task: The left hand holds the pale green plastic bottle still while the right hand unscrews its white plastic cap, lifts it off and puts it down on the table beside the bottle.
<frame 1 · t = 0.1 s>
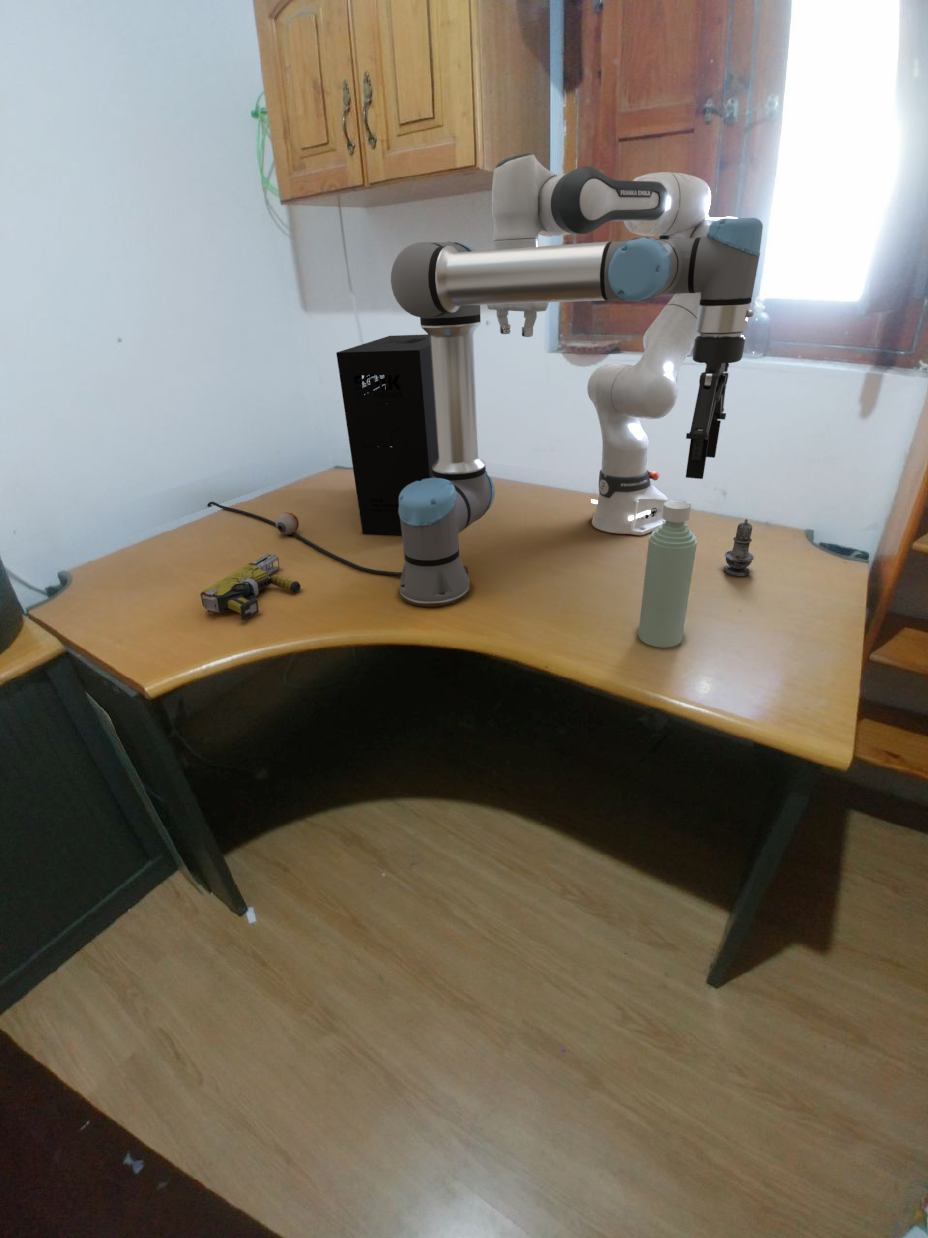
left hand: (700, 466, 106), 28 cm above the table, tool pointing down, fingers open, 13 cm apart
right hand: (516, 335, 125), 48 cm above the table, tool pointing down, fingers open, 8 cm apart
toy gun: (264, 594, 134), on the table
eyeball: (289, 534, 165), on the table
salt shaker: (736, 571, 132), on the table
cardboard box: (418, 510, 176), on the table
bottle: (660, 636, 111), on the table
cap: (677, 506, 98), point 25 cm above the table, screwed on, not yet turned
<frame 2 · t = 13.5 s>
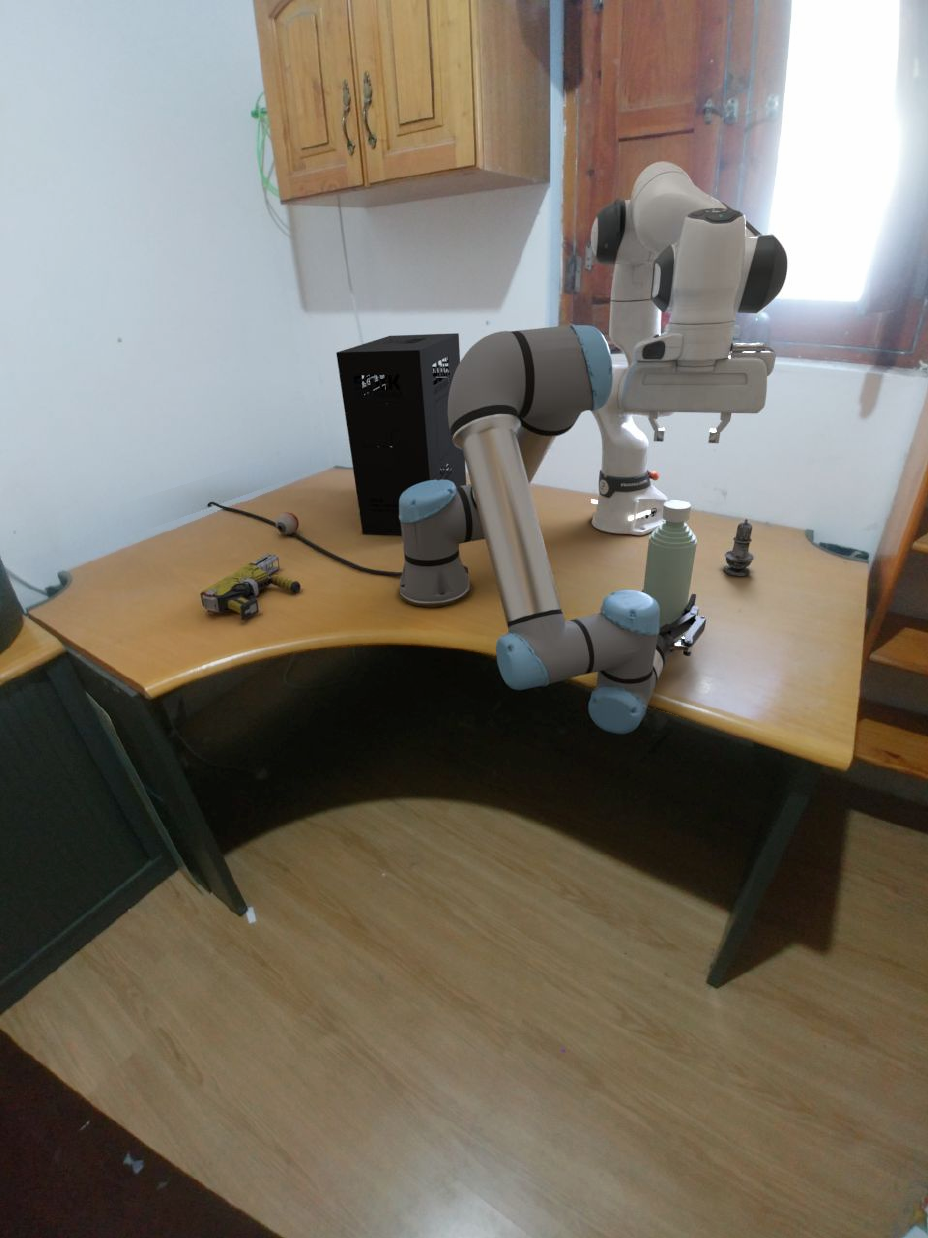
left hand: (669, 596, 112), 6 cm above the table, tool horizontal, fingers closed on bottle, 8 cm apart
right hand: (685, 441, 93), 35 cm above the table, tool pointing down, fingers open, 7 cm apart
bottle: (660, 636, 111), on the table, touching left hand
everything else where it was.
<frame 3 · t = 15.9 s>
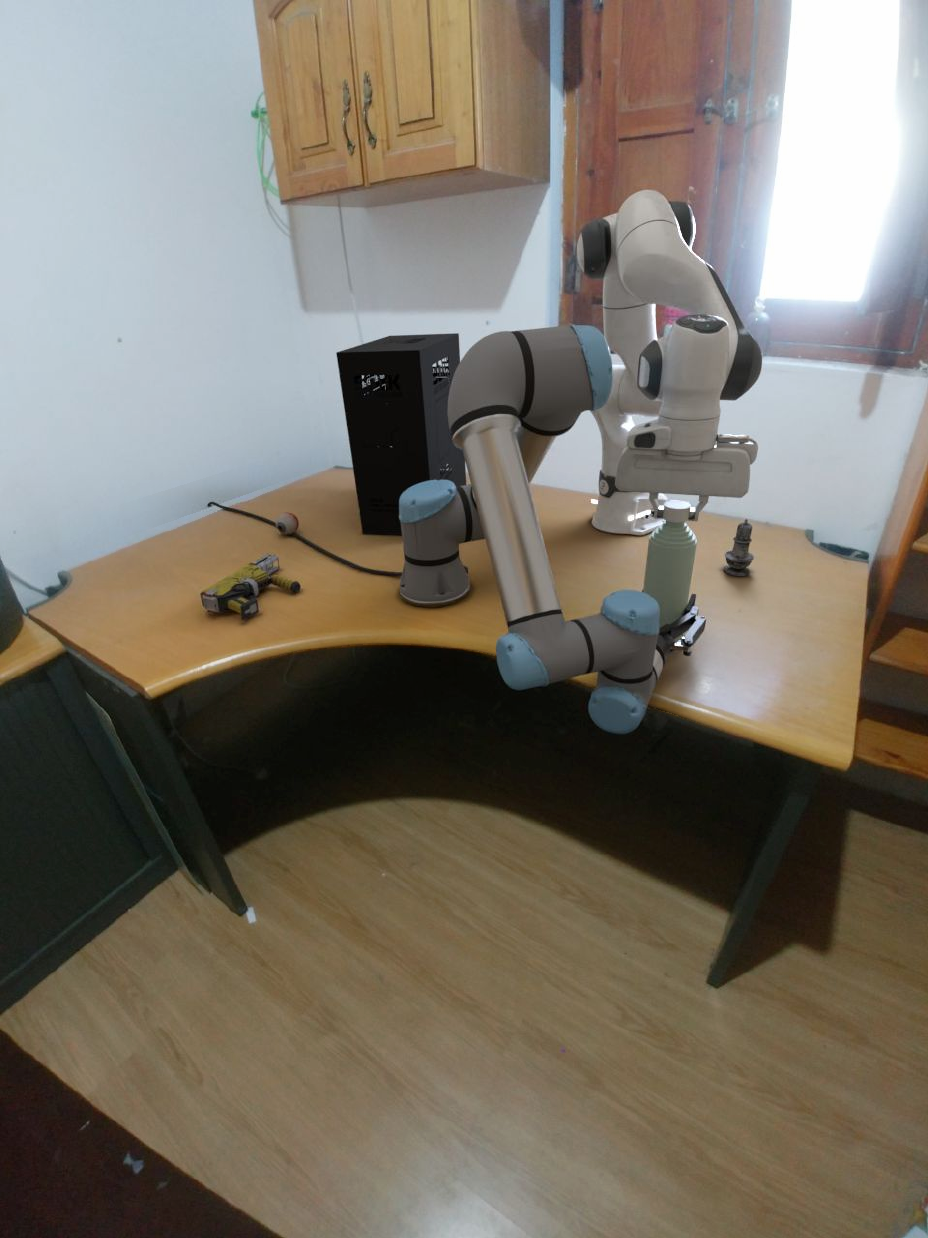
left hand: (669, 596, 112), 6 cm above the table, tool horizontal, fingers closed on bottle, 8 cm apart
right hand: (675, 518, 100), 23 cm above the table, tool pointing down, fingers closed on cap, 4 cm apart
bottle: (659, 636, 111), on the table, touching left hand
cap: (677, 506, 98), point 25 cm above the table, screwed on, not yet turned, touching right hand
everything else where it was.
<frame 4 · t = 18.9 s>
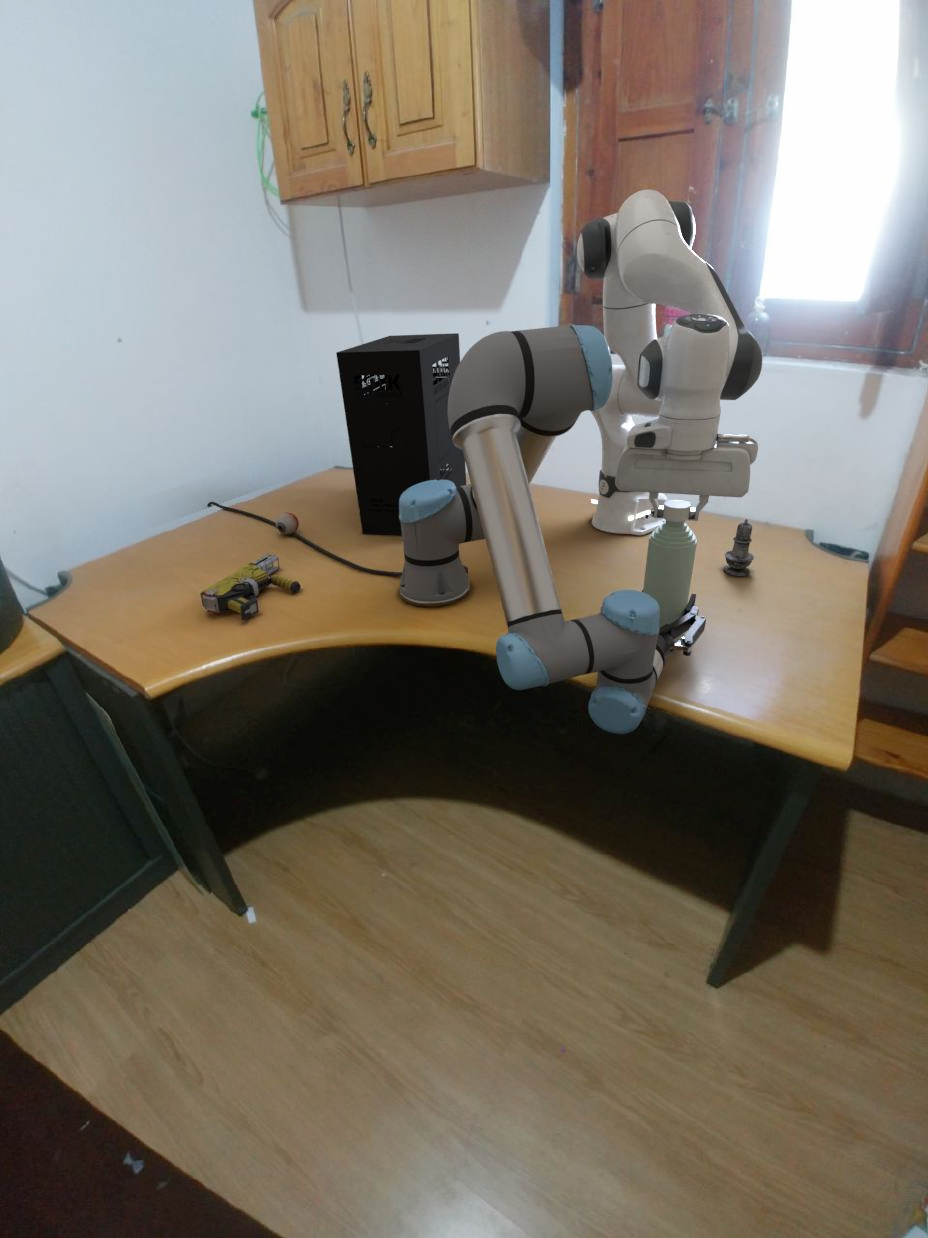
left hand: (669, 596, 112), 6 cm above the table, tool horizontal, fingers closed on bottle, 8 cm apart
right hand: (675, 518, 100), 23 cm above the table, tool pointing down, fingers closed on cap, 4 cm apart
bottle: (659, 636, 111), on the table, touching left hand
cap: (677, 505, 98), point 25 cm above the table, turned 86° so far, risen 0.1 cm, still on its thread, touching right hand
everything else where it was.
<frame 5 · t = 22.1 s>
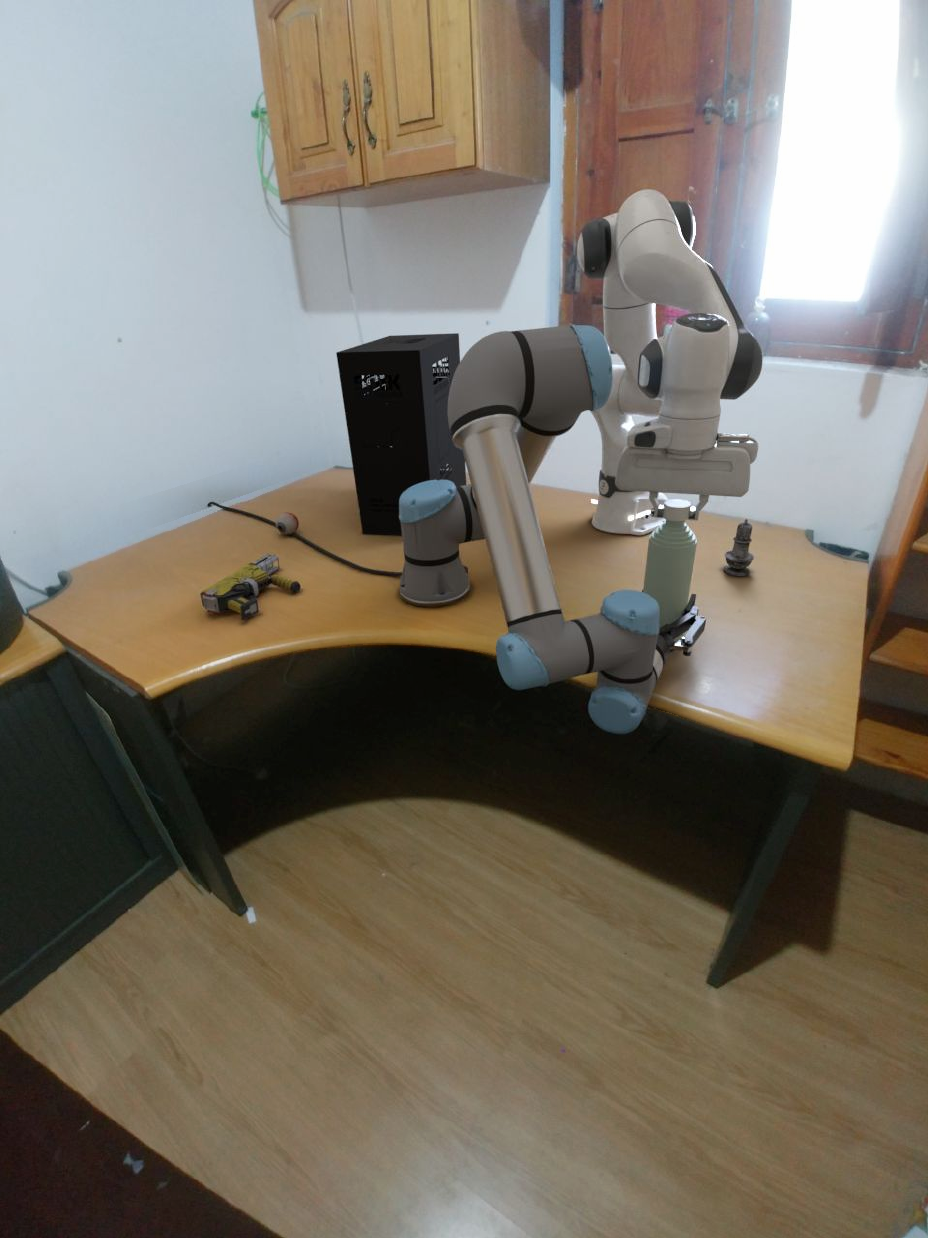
left hand: (669, 596, 112), 6 cm above the table, tool horizontal, fingers closed on bottle, 8 cm apart
right hand: (675, 518, 99), 23 cm above the table, tool pointing down, fingers closed on cap, 4 cm apart
bottle: (659, 636, 111), on the table, touching left hand
cap: (677, 505, 98), point 25 cm above the table, turned 172° so far, risen 0.2 cm, still on its thread, touching right hand
everything else where it was.
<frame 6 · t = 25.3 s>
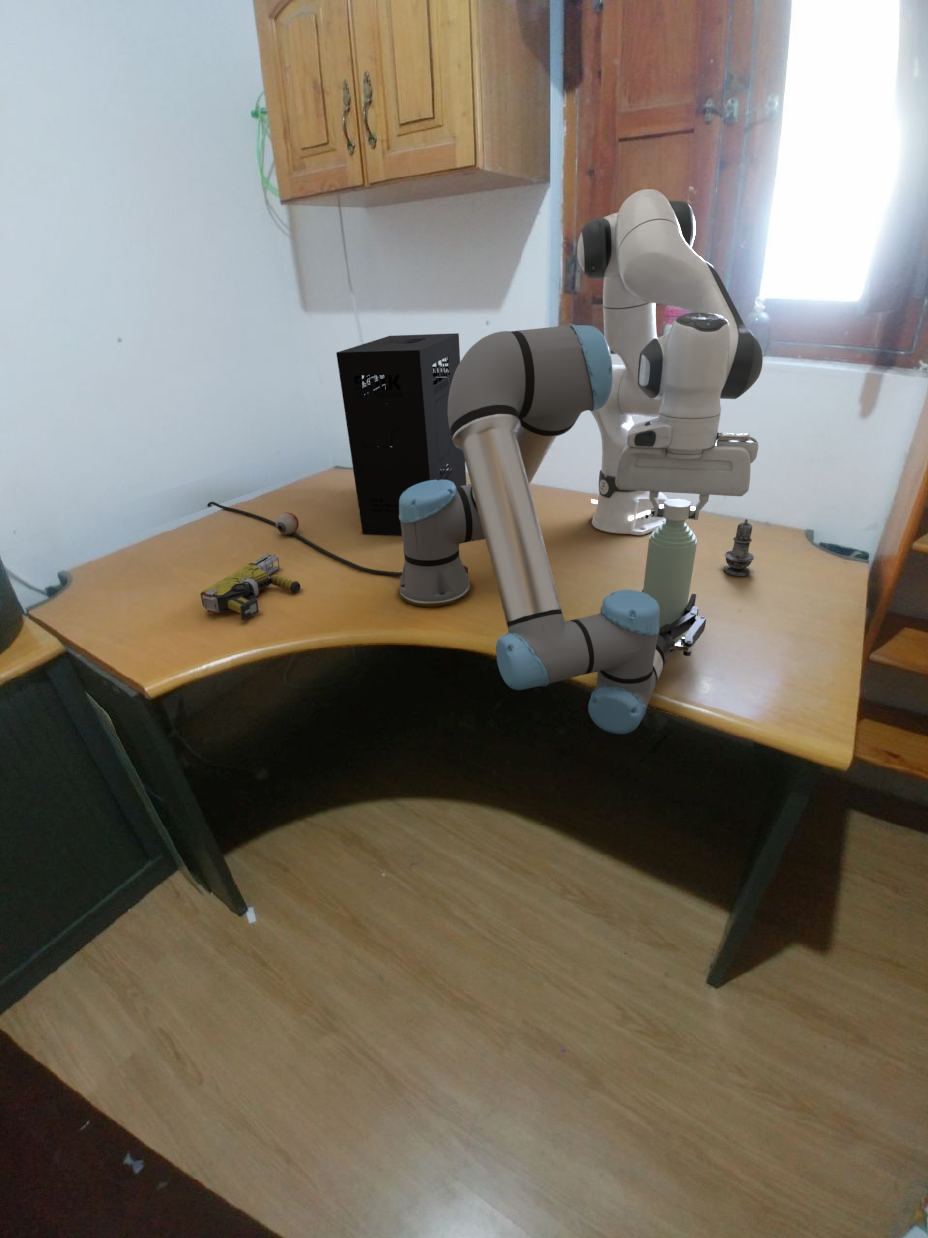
left hand: (669, 596, 112), 6 cm above the table, tool horizontal, fingers closed on bottle, 8 cm apart
right hand: (675, 517, 99), 23 cm above the table, tool pointing down, fingers closed on cap, 4 cm apart
bottle: (660, 636, 111), on the table, touching left hand
cap: (677, 504, 98), point 25 cm above the table, turned 258° so far, risen 0.3 cm, still on its thread, touching right hand
everything else where it was.
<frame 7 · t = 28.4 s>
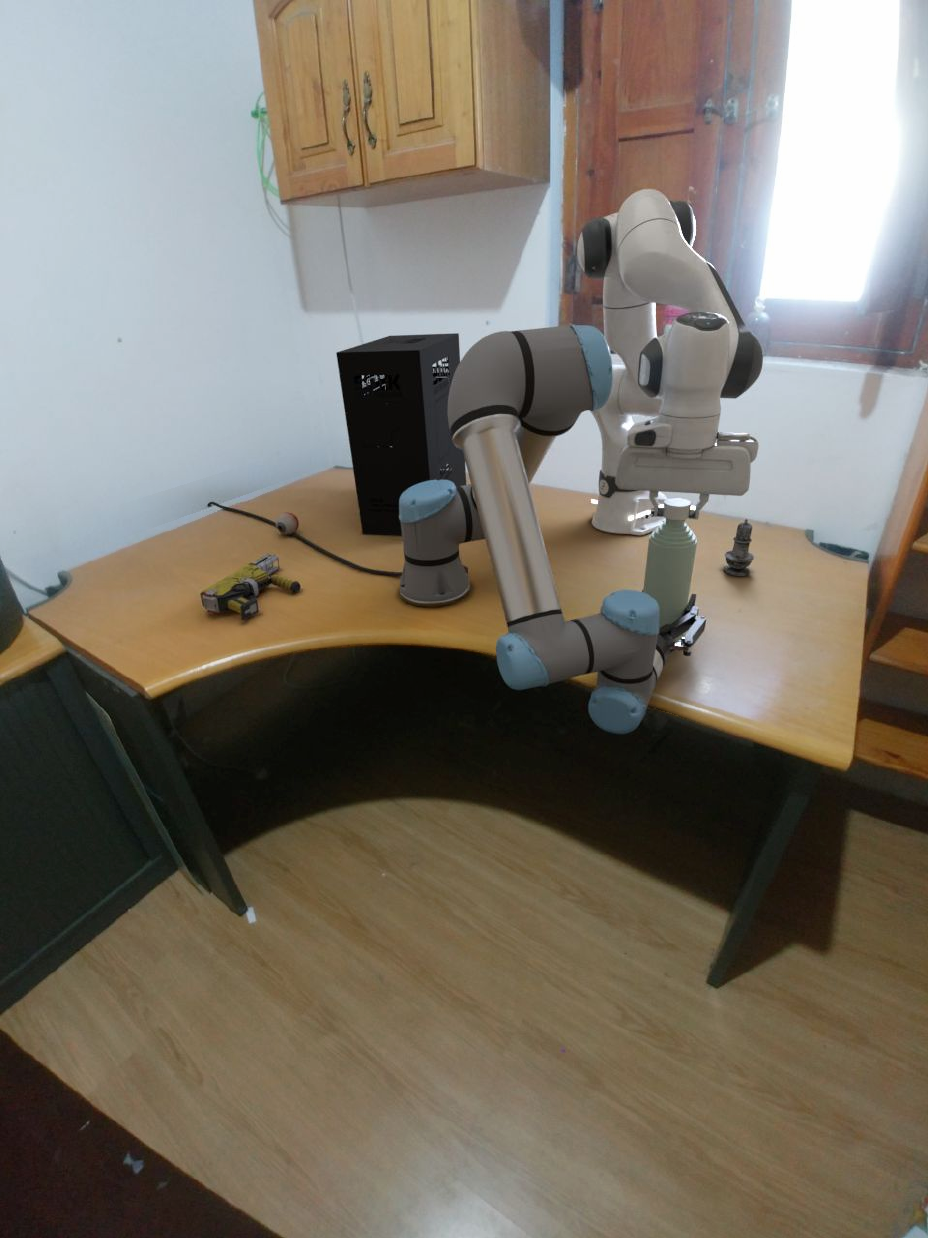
left hand: (669, 596, 112), 6 cm above the table, tool horizontal, fingers closed on bottle, 8 cm apart
right hand: (675, 517, 99), 23 cm above the table, tool pointing down, fingers closed on cap, 4 cm apart
bottle: (660, 636, 111), on the table, touching left hand
cap: (677, 503, 98), point 25 cm above the table, turned 345° so far, risen 0.3 cm, still on its thread, touching right hand
everything else where it was.
when the right hand's fingers open (2 cm above the table, at t = 40.4 s): cap drops 2 cm, point 2 cm above the table.
when the left hand's fingers open (6 cm above the table, at t = 41.6 s): bottle stays where it is, on the table.
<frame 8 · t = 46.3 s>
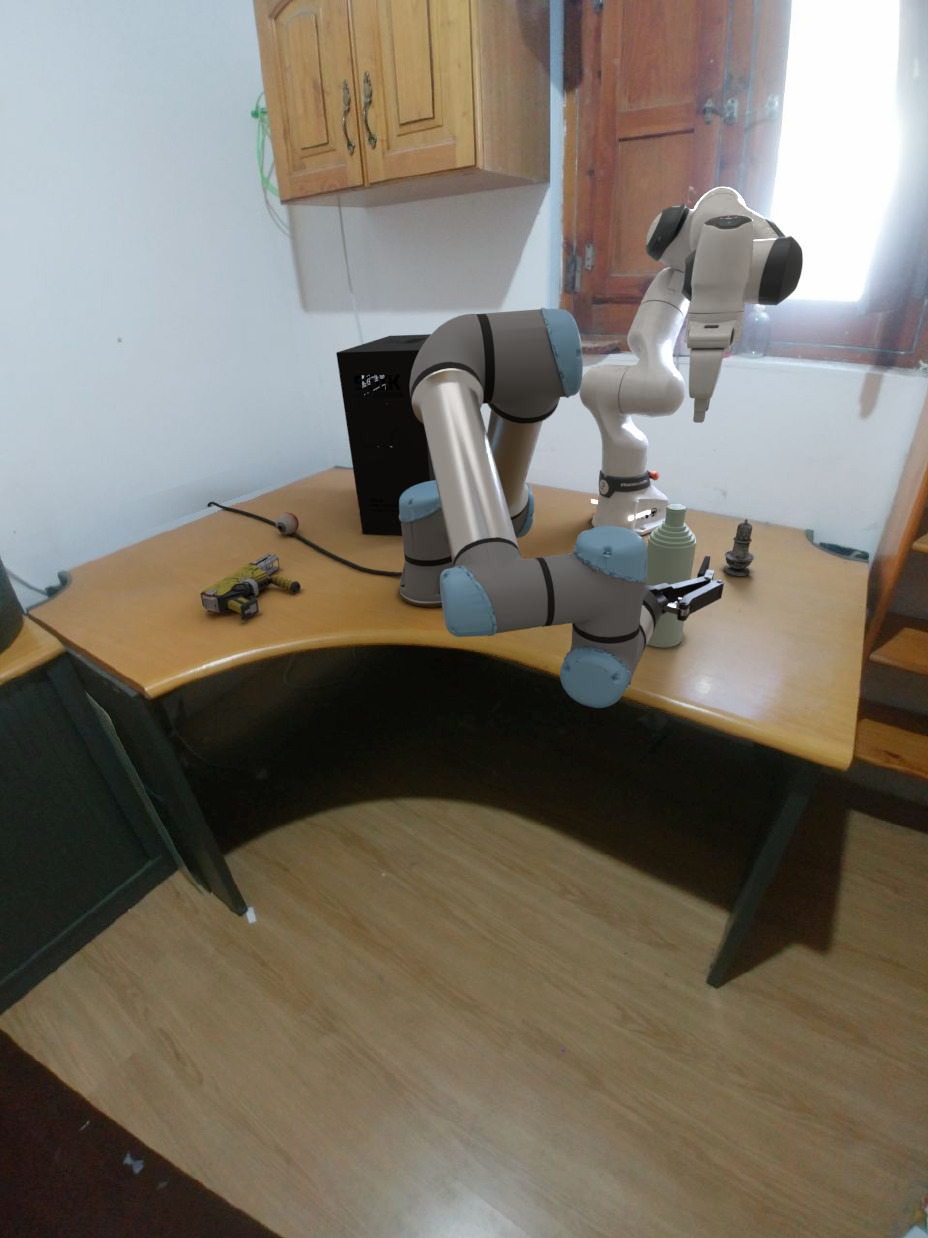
left hand: (660, 557, 94), 20 cm above the table, tool horizontal, fingers open, 13 cm apart
right hand: (701, 415, 108), 35 cm above the table, tool pointing down, fingers open, 8 cm apart
bottle: (659, 636, 111), on the table
cap: (677, 582, 125), point 2 cm above the table, off its thread
everything else where it was.
at the end: cap came off its thread; cap point 2.0 cm above the table; the left hand is holding nothing; the right hand is holding nothing; bottle tilted 0°; bottle moved 0.1 cm from its start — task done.
